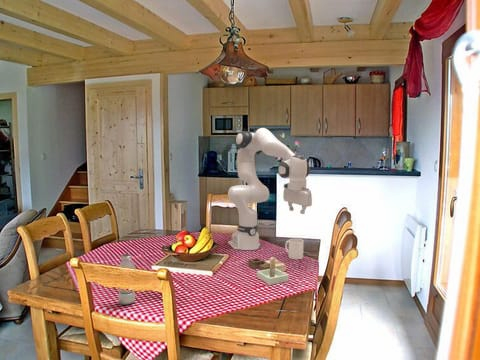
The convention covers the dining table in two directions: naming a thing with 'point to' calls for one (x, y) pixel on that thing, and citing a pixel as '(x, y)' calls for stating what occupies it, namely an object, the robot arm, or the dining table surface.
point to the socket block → (255, 263)
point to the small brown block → (264, 267)
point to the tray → (278, 278)
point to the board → (277, 265)
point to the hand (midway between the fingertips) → (296, 212)
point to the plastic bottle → (126, 295)
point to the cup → (295, 248)
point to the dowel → (272, 267)
